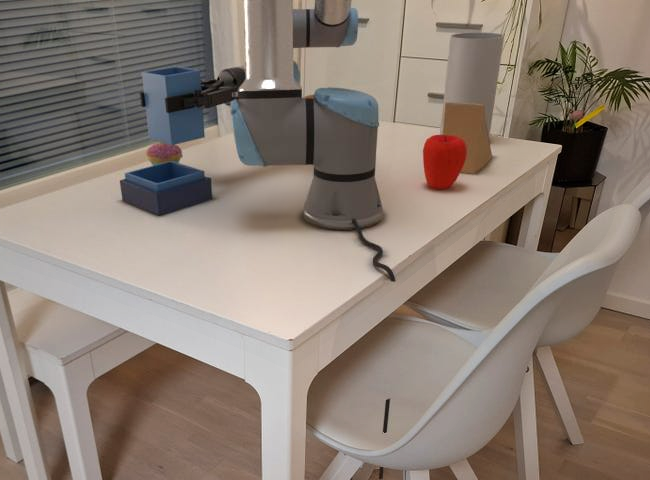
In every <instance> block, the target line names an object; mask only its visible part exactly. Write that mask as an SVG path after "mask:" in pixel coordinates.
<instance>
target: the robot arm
mask: <svg viewBox="0 0 650 480" xmlns="http://www.w3.org/2000/svg"><path fill="white" fill-rule="evenodd" d="M358 31H359V12H358V9H357V8H355V7H352V0H314V8H294V0H243V32H244V35H243V37H244V65H239V66H233V67H228V68H224V69H222V70H221V71H220V72H219V74H218V75H217V78H209V79H207V80H202V79H201V90H195V97H194V93H188V94H183V95H178V96H173V97H168V98H165V105H166V113H171V112H176V111H181V110H186V109H190V108H195V106H196V107H198V108H200V107H202V106H203V107H204V108H203V109H210V108H214V107H217V106H221V105H226V106H227V107H229V109H230V118H231V126H232V132H233V138H234V143H235V148H236V153H237V157H238V159H239V161H240V162H241V163H242V164H243V165H245V166H250V167H263V168H267V167H272V166H273V167H275V166H311V165H312V166H313V172H312V173H313V174H312V176H313V177H312V181H311V183H310V186H309V189H308V193H307V196H306V200H305V202H304V204H303V219H304V220H305V221H306V222H307V223H309V224H311V225H312V226H315V227H318V228H322V229H326V230H335V231H337V230H338V231H351V230H355V231H356V232H357V235H358V237H359V239H360V241H361V242H362V244H364V245H365V246H368V247H370V248H373V249H375V250H376V251H377V253H376V254H375V255H374V256H373V258H372V264H373V265H374V266H375V267H377V268H379V269H381V270H384V271H385V272H386V273H387V274H388V277H389V279H390V282H392V283H394V282H396V278H395V274H394V272H393V270H392V269H391V268H390V267H389V266H388V265H387V264H385V263H381V262H379V261H378V260H379V259H380V258H381V257H382V255H383V253H384V250H383V248H382V247H381V246H380V245H379V244H376V243H374V242H371V241H369V240H368V239H366V237H364V234H363V231H362V229H365V228H369V227H372V226H374V225H376V224H377V223H379V222H380V221H381V220H382V218H383V203H382V200H381V196H380V192H379V188H378V185H377V180H376V165H377V149H378V148H377V147H378V129H379V127H380V120H379V103H378V101H377V99H376V98H375V97H374V96H373V95H371V94H369V93H366V92H363V91H360V90H356V89H351V88H344V87H332V86H331V87H330V86H329V87H319V88H317V89H315V90H314V93H313V94H312V95H314V98H303V87H302V86H301V84H300V81H301V71H300V70H299V66H298V63H297V62H296V61H295V60H294V49H306V48H341V47H351V46H354V45H355V43H356V42H357V40H358ZM139 100H140V107H141V108H146V106H145V97H144V91H140V92H139ZM390 403H391V398H387V399H385V403H384V412H383V413H384V414H383V424H382V433H383V432H384V433H386V432H387V433H388V425H389V415H390V406H391V405H390ZM384 467H385V466H384ZM384 467H380V466H379V470H378V471H379V472H378V479H379V480H383V479H384Z"/></svg>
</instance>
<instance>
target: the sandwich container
mask: <svg viewBox="0 0 650 480" xmlns="http://www.w3.org/2000/svg"><path fill="white" fill-rule="evenodd" d="M443 135H451V136H456V137H459V138H461V139H463V140H464V141H465V144H466V147H467V155H466V160H465V163H464V165H463V168H462V170H461V172H460V173H462V174H463V173H464V174H471V175H475V174H476V173H477V172H478V171H480V170H481V169H483V167H484V166H485V165H486V164H487V163H488V162H489V161H490V160H492V159H493V153H492V147H491V142H490V135H489V136H488V130H487V124H486V117H485V108H484V105H482V104H471V103H454V102H447V103H446V105H445V115H444V126H443Z"/></svg>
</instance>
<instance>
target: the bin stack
mask: <svg viewBox="0 0 650 480" xmlns="http://www.w3.org/2000/svg"><path fill="white" fill-rule="evenodd" d="M205 174H206V173H205V170H202V169H199V168H195V167H193V166H190V165H186V164H183V163H181V162H179V163H177V162H173V161H169V162H165V163H161V164H157V165H154V166H153V165H151V166H146V167H142V168H138V169H134V170H132V171H128V172H125V173H124V178H123V179H119V185H120V186H119V187H120V193H121V200H122V202H124V203H126V204H129V205H131V206H134V207H136V208H139V209H141V210H144V211H147V212H148V213H151V214H154V215H156V216H158V217H159V216H163V215H166V214H169V213H173V212H176V211H178V210H183V209H185V208H188V207H191V206H194V205H197V204H200V203H204V202H206V201H210V200H213V188H212V178H211V177H209V176H206V175H205Z"/></svg>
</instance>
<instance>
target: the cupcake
mask: <svg viewBox="0 0 650 480" xmlns="http://www.w3.org/2000/svg"><path fill="white" fill-rule="evenodd" d="M145 154H146V160H147V161H148V162H150V163H151V166H154V165H157V164H161V163H165V162H169V161H173V162H177V163H180V161H181V159H182V158H183V150H182V148H180V146H179V145H178V144H176V145H169V144H165V143H162V142H158V143H154V144H152V145H151V146H149V147H148V148H147V150H146V153H145Z"/></svg>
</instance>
